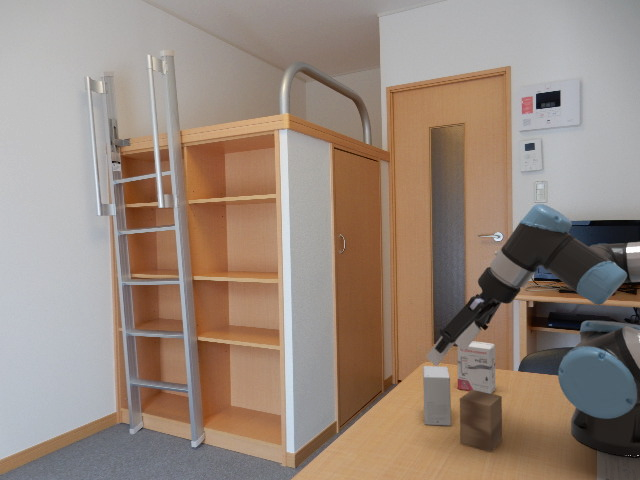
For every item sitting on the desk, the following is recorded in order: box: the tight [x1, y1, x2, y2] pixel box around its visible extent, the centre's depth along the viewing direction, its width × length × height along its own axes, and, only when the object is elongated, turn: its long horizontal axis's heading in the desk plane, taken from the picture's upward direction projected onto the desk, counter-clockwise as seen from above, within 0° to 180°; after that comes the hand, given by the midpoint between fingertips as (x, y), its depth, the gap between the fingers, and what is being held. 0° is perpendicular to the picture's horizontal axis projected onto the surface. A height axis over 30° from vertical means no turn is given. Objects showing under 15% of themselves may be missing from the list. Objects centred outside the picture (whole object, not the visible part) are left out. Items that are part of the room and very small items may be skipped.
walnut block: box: [459, 390, 503, 453], centre depth 93 cm, size 6×6×9 cm
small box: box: [422, 365, 452, 427], centre depth 104 cm, size 8×6×10 cm
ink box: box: [457, 340, 496, 394], centre depth 121 cm, size 9×5×12 cm, turn 55°
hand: (446, 353), depth 101 cm, fingers open, 13 cm apart
